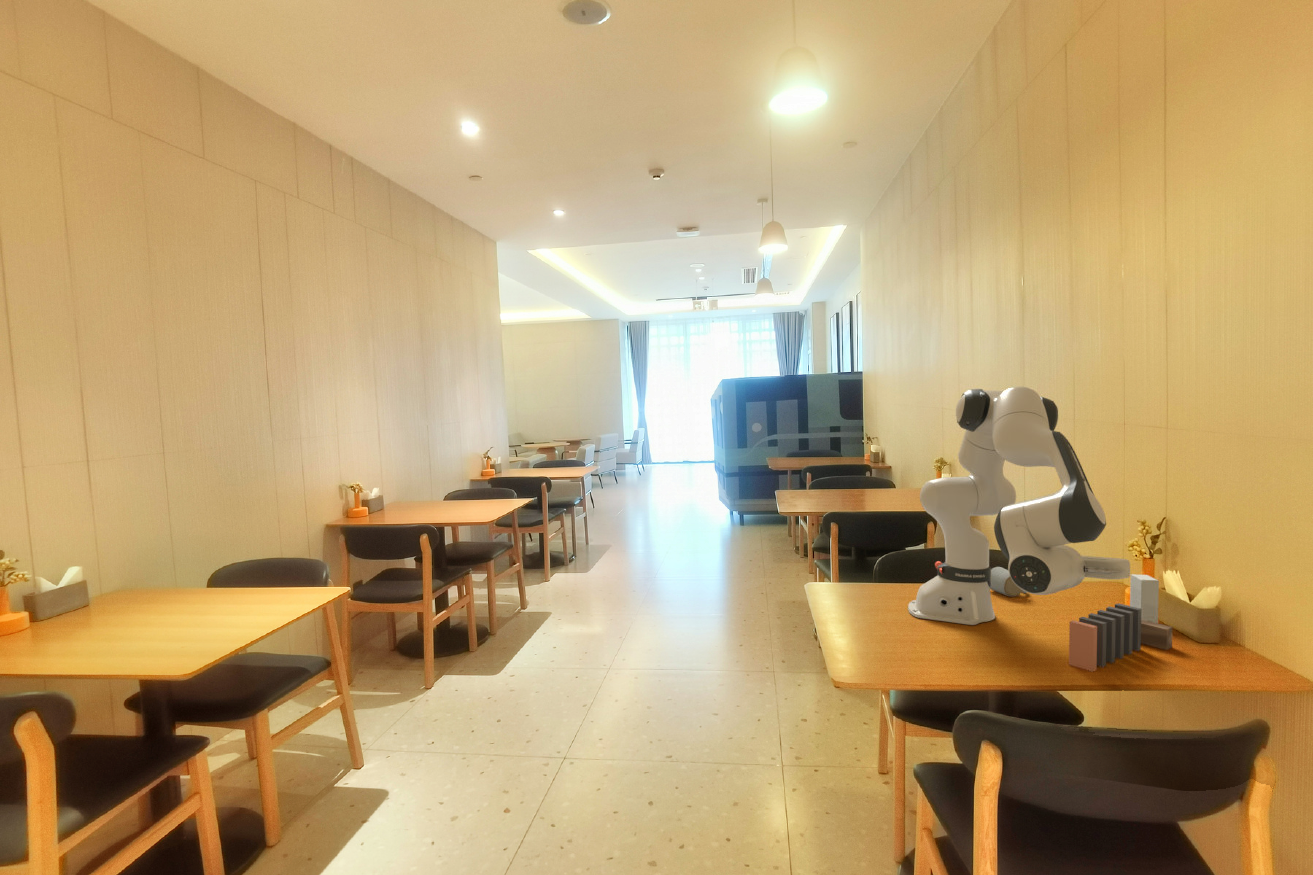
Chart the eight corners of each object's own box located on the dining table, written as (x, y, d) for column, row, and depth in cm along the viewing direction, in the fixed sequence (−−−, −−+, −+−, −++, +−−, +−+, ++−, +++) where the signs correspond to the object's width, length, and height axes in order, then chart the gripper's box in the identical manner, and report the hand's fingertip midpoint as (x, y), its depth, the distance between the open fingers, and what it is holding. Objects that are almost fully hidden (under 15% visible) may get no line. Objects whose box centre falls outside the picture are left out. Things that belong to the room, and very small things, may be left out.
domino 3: (1111, 663, 149) (1112, 620, 148) (1087, 656, 153) (1088, 614, 153) (1114, 661, 150) (1115, 618, 149) (1091, 654, 154) (1091, 613, 154)
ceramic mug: (1005, 599, 197) (1006, 573, 196) (985, 591, 205) (986, 567, 204) (1034, 596, 199) (1035, 571, 199) (1014, 588, 207) (1014, 565, 207)
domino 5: (1128, 654, 154) (1129, 613, 153) (1105, 648, 158) (1106, 607, 157) (1132, 653, 154) (1133, 611, 154) (1108, 646, 159) (1109, 606, 158)
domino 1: (1092, 671, 145) (1093, 627, 144) (1068, 664, 149) (1069, 621, 148) (1096, 670, 146) (1097, 626, 145) (1072, 662, 150) (1073, 620, 149)
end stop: (1166, 649, 156) (1166, 629, 156) (1110, 635, 166) (1110, 615, 166) (1171, 647, 157) (1172, 626, 157) (1116, 632, 168) (1116, 613, 167)
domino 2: (1102, 667, 147) (1103, 623, 146) (1078, 660, 151) (1079, 617, 151) (1105, 665, 148) (1106, 622, 147) (1082, 658, 152) (1082, 616, 151)
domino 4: (1120, 658, 151) (1121, 616, 151) (1096, 652, 156) (1097, 610, 155) (1123, 657, 152) (1124, 615, 152) (1100, 650, 156) (1100, 609, 156)
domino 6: (1137, 651, 156) (1138, 609, 155) (1113, 644, 160) (1114, 604, 159) (1140, 649, 156) (1141, 608, 156) (1117, 643, 161) (1117, 603, 160)
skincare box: (1158, 625, 172) (1159, 580, 171) (1140, 624, 173) (1141, 580, 172) (1146, 617, 178) (1147, 574, 177) (1128, 616, 179) (1129, 573, 178)
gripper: (1119, 555, 123) (1138, 550, 133) (1004, 547, 139) (1029, 543, 148) (1121, 589, 123) (1140, 582, 132) (1005, 577, 138) (1030, 571, 147)
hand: (1080, 561), depth 140 cm, fingers open, 8 cm apart
